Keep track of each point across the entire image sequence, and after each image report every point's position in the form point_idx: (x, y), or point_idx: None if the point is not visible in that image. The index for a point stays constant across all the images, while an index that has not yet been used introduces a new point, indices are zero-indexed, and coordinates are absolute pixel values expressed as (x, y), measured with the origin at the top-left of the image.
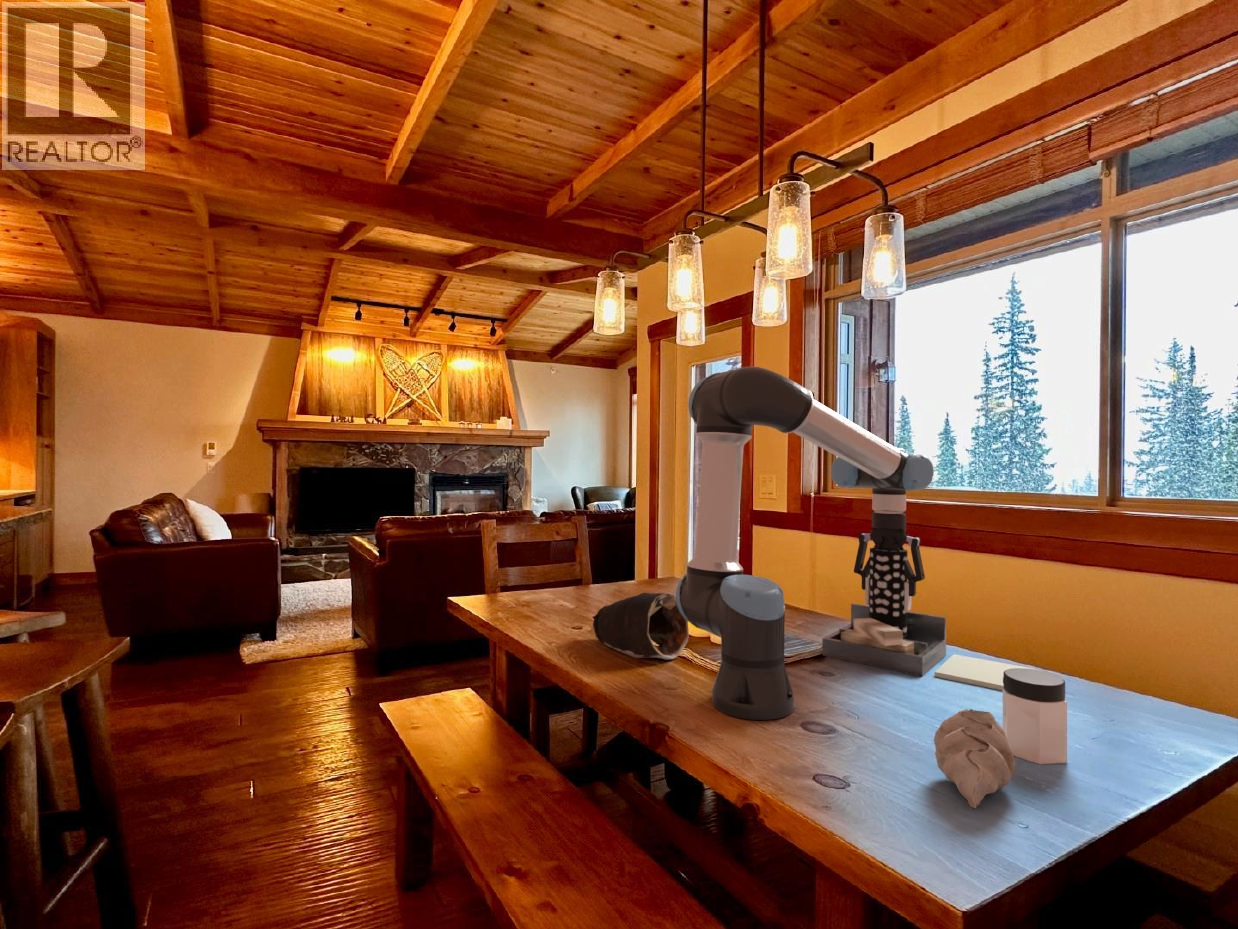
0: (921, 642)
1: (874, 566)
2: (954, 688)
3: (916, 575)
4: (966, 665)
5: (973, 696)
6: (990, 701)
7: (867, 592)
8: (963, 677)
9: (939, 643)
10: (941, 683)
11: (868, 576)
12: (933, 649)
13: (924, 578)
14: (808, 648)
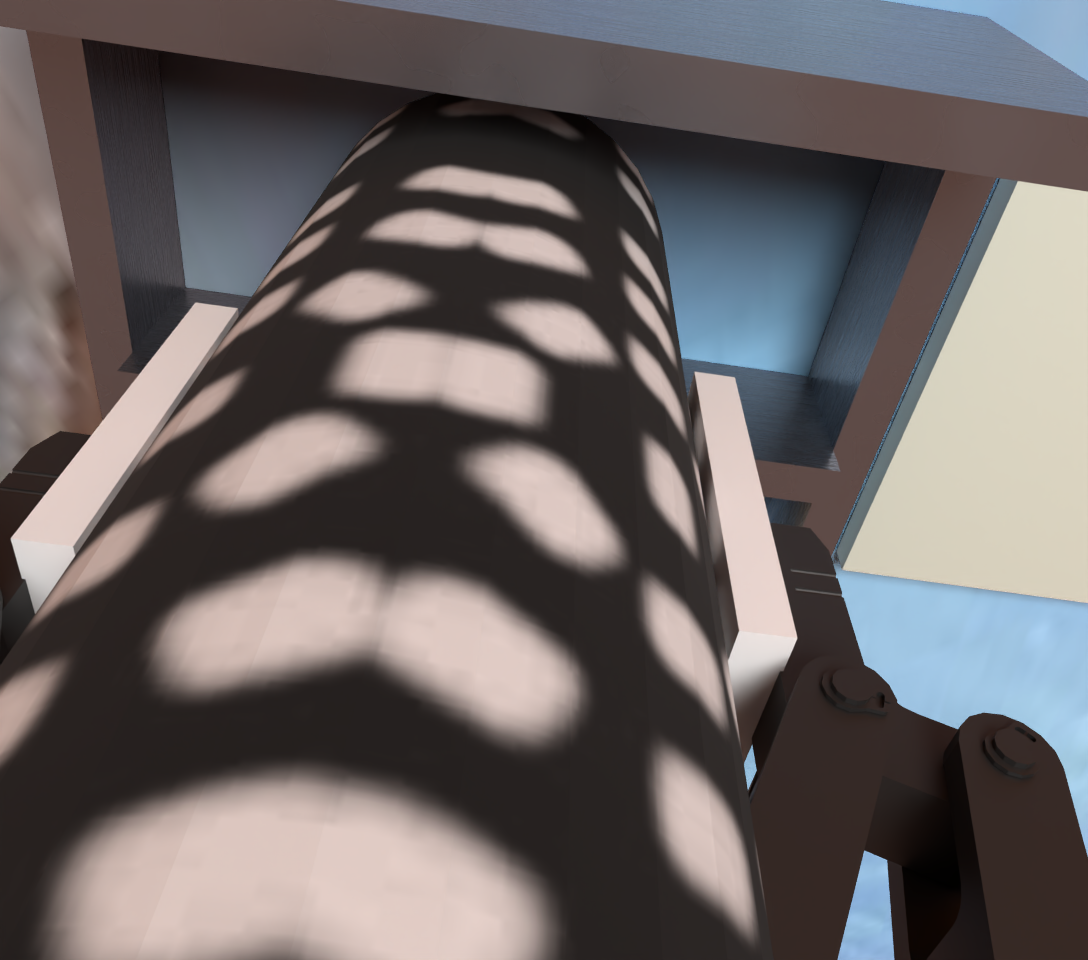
0: (793, 481)
1: None
2: (919, 654)
3: (903, 907)
4: (1077, 372)
5: (989, 703)
6: (1051, 723)
7: None
8: (994, 588)
9: (944, 296)
10: (863, 621)
11: (25, 590)
12: (873, 449)
13: (1044, 749)
14: (20, 398)
